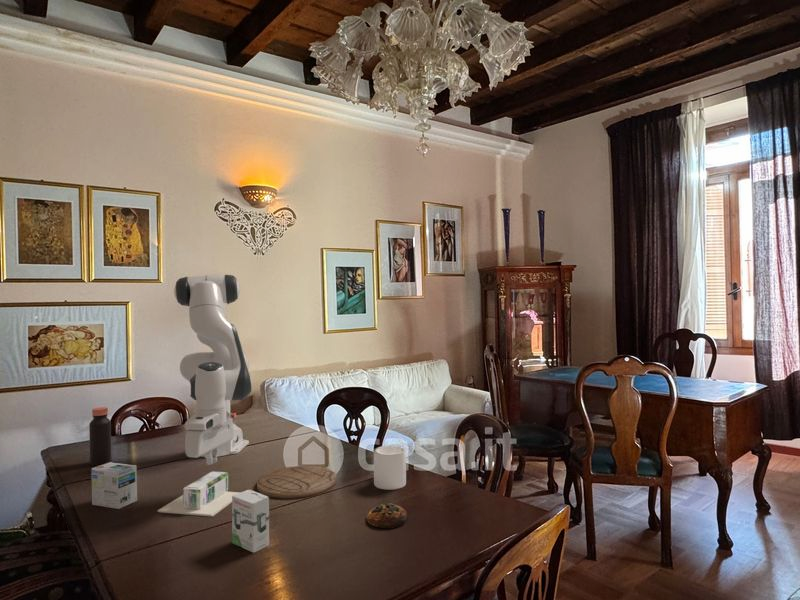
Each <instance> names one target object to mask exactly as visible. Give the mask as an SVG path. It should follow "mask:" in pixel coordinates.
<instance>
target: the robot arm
mask: <svg viewBox="0 0 800 600" xmlns="http://www.w3.org/2000/svg"><path fill="white" fill-rule="evenodd" d="M173 291H174V296H175V299H176V302H177V303H178V304H179V305H181V306H182V307H183V306H184V307H188V309H189V310H188V311H189V313H188V315H189V324H190V327H191V329H192V330H193V332H195V333H196V338H197V339H198V341H199V342H200V343H201V344H204V345H205V346H208V347H209V348H210V349H211V350H212V351H210V352H209V351H207V352H205V351H203V352H201V351H200V352H194V353H190V354H186V355H184V356H183V357H182V359H181V360H180V364H179V370H180V371H179V372H180V375H181V376H182V377H183V378H184V379H185V380H186V381H188V383H190V395H189V397H190V398H192V400H195V402H196V403H195V408H194V413H193V414H192V415H191V416H190V417H189V418H188V420H187V419H186V420H187V421H185V423H184V429H185V430H186V433H185V437H184V440H185V441H184V444H185V445H184V446H185V447H184V448H185V455H186V456H187V457H188V458H195V459H196V458H199V457H200V458H205V461H206V462H205V463H206V466H211V465H214V464H215V463H217V462H218V457H223V456H228V455H234V454H235V455H236V454H239V453H240V452H241V451H242V450H243V449H244V448H246V446H247V445H249V443H250V441H249V440H248V439H244V438H243V437H244V435H243V430H242V429H241V428H240V427H239V426H237V425H236V424H235V423H234V419H236V418H237V413H235V412H234V413H232V412H231V401H244V400H245V399H246V398H248V396H249V395H250V394H251V393H252V388H253V381H252V378H251V375H250V372H249V369H250V362H249V359H248V357H247V355H246V354H244V351H243V347H242V344H241V340H240V337H239V333H238V330H237V329H236V326H235V325H234V324H232V323H231V322H229V320H228V319H227V311H226V305H225V304H227V305H230V304H232V303H234V302H235V301H237V300H238V298H239V295H240V291H241V287H240V283H239V281H238V279H237V277H236V276H235V275H232V274H225V275H224V274H206V275H195V276H184V277H180V278H178V279H177V281H176V283H175V286H174V290H173Z"/></svg>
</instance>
